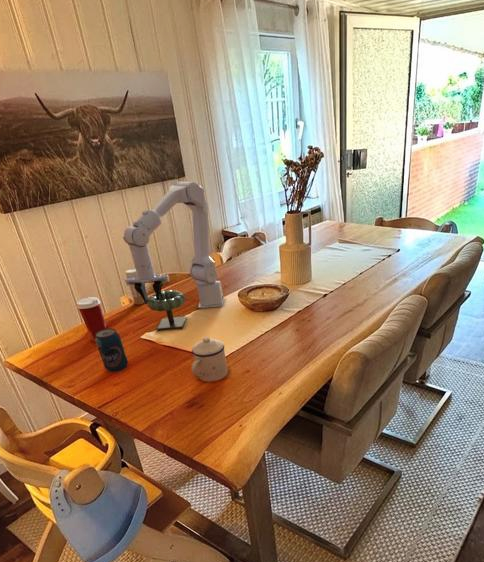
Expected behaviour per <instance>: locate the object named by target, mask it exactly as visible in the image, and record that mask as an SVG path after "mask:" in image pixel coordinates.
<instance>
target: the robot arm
mask: <svg viewBox="0 0 484 562" xmlns="http://www.w3.org/2000/svg"><path fill="white" fill-rule="evenodd" d="M177 204H184V205H185V206H186V207H187V208H189V210H190V211H191V213H192V229H193V231H192V233H193V247H194V257H193V258H192V259H191V261H190V262H191V264H190V268H189V274H190V277H191V278H192V280H194V283H195V286H196V289H197V296H198V301H199V303H198V305H197V308H198V309H207V308H208V309H209V308H219V307H223V305H224V304H223V303H224V301H225V298H224V295H223V293H224V292H223V286H222V282H221V281H220V280H217V279H218V270H217V268H216V262H215V261H214V259H212V257H211V255H210V254H211V253H210V233H209V232H210V231H209V207H208V203H207V200H206V197H205V188H204V187H203V186H202V185H201V184H200V183H199V182H197V181H181V180H177V181H175V182H174V183H173V184H172V185H171V186H170V187H169V188H168V191H166V193H165V195H164V196H163V197H162V198H161V200H160V201H159V202H158V203H157V204H156V205H155V207H154V208H153V209H147V210H146V209H145V210H143V211H142V212H141V214H142V215H141V216H140V217H138V219H137V220H136V221H135V220H134V221H133V222H132V224H133V225H129V226H126V228H125V229H124V232H123V238H122V239H123V241H124V242H125V243H126V244H127V245H128V248H129V250H130V254H131V257H132V261H133V265H134V268H135V270H136V272H137V277H131V278H127V277H126V278H125V279H124V281H125V285H126V286H129V285H130V284H135V287H134V288H135V290H136V291H137V292H138V293H139V294H140V295H141V297H142V298H143V300H144V302H145V303H144V304H145V305H147V300H148V299H149V296H148V292H147V289H146V288H147V287H146V284H150V283H151V284H152V285H151V286H152V289H153V291H154V294H155V293H156V297H157V300H159V301H161V292H162V287H163V284H164V282H165V283H168V282H170V276H169V274H158V273H157V274H156V273H155V270H154V265H153V261H152V258H151V254H150V250H149V246H148V244H149V243H150V237H151V235H152V234H153V233H154V232H155V231H156V230H157V229H158V228H159V227H160V226H161V224H162V218H163V217H164V216H165V215H166V214H167V213H169V211H171V210H172V209H173V207H175V206H176V205H177Z"/></svg>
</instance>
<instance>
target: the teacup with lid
mask: <svg viewBox="0 0 484 562" xmlns="http://www.w3.org/2000/svg"><path fill="white" fill-rule="evenodd" d="M191 353H192V354H193V359H194V361H193V362H192V363H191V366H190V368H191V373H192V374H193V375H194V376H195V377H198V378H199V380H201V381H203V382H207V383H208V382H210V383H211V382H217V381H220V380H223V379H224V378H225V377H227V375H228V372H229V370H228V369H229V368H228V365H227V363H228V362H227V359H226V353H225V344H224V342H222V341H221V340H220V339H215V338H210V337H209V336H204V337H203V338H202V340H200V341H198V342H196V343H195V344H193V346H192V348H191Z"/></svg>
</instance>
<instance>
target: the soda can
mask: <svg viewBox="0 0 484 562" xmlns="http://www.w3.org/2000/svg"><path fill="white" fill-rule="evenodd" d="M95 341H96V342H95V344H96V347H97V351H98V352H99V355H100V358H101V361H102V364H103V367H104V369H105V370H107V371H108V372H109V373H119V372H122V371H124V370H125V369H126V368H127V367H128V364H129V360H128V357H127V354H126V352H125V348H124V344H123V342H122V339H121V336H120V333H119V332H118V331H116V329H115V328H112V327H109V328H107V329H103V330H100V331H98V332H97V333H96V339H95Z"/></svg>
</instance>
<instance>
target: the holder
mask: <svg viewBox="0 0 484 562" xmlns="http://www.w3.org/2000/svg"><path fill="white" fill-rule="evenodd" d="M165 312H166V316H167V317H163V318H161V319H160V322H159V324H158V326H157V328H156V330H157V332H162V331H163V332H164V331H174V330H175V331H176V330H183V329H184V327H185V324H186V321H187V316H174V313H173V310H169V311H165Z"/></svg>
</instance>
